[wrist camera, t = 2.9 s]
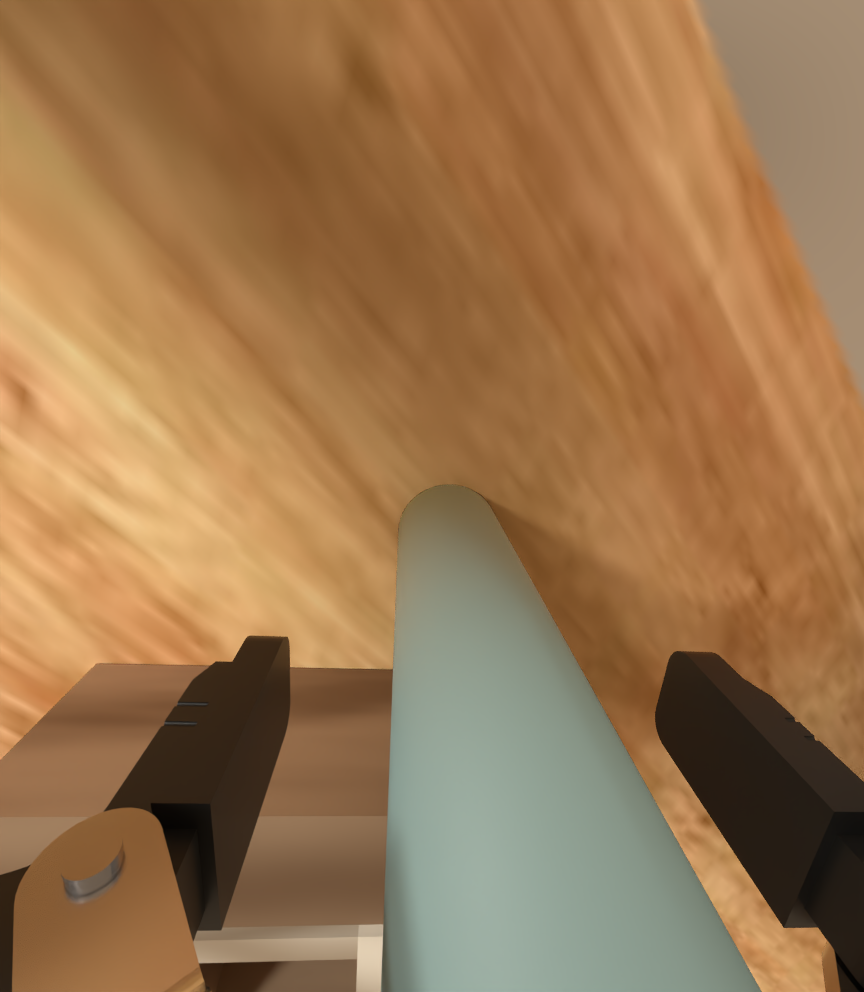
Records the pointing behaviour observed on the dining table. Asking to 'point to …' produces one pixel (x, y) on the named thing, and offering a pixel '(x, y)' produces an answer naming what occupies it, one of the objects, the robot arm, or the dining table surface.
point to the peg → (520, 795)
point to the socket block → (279, 829)
